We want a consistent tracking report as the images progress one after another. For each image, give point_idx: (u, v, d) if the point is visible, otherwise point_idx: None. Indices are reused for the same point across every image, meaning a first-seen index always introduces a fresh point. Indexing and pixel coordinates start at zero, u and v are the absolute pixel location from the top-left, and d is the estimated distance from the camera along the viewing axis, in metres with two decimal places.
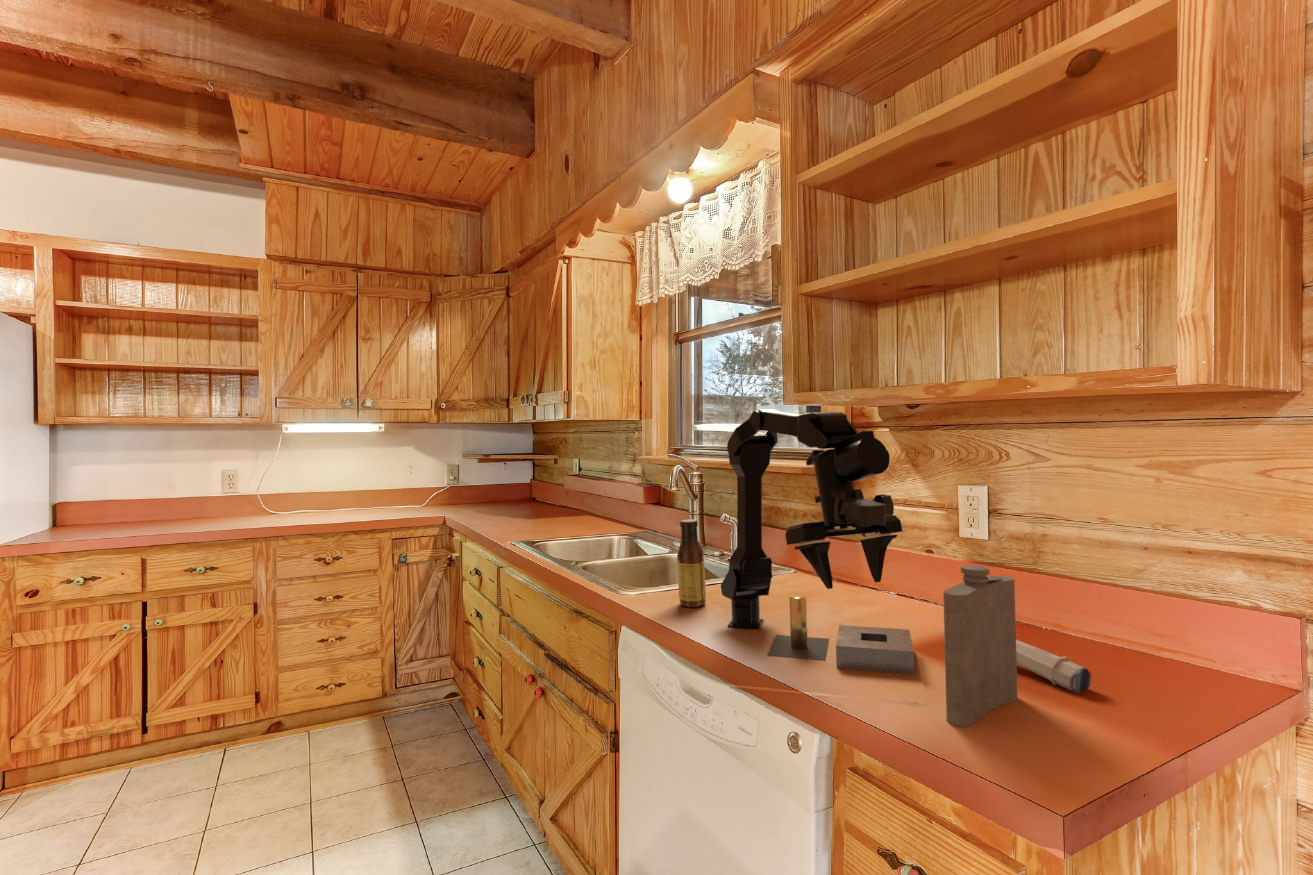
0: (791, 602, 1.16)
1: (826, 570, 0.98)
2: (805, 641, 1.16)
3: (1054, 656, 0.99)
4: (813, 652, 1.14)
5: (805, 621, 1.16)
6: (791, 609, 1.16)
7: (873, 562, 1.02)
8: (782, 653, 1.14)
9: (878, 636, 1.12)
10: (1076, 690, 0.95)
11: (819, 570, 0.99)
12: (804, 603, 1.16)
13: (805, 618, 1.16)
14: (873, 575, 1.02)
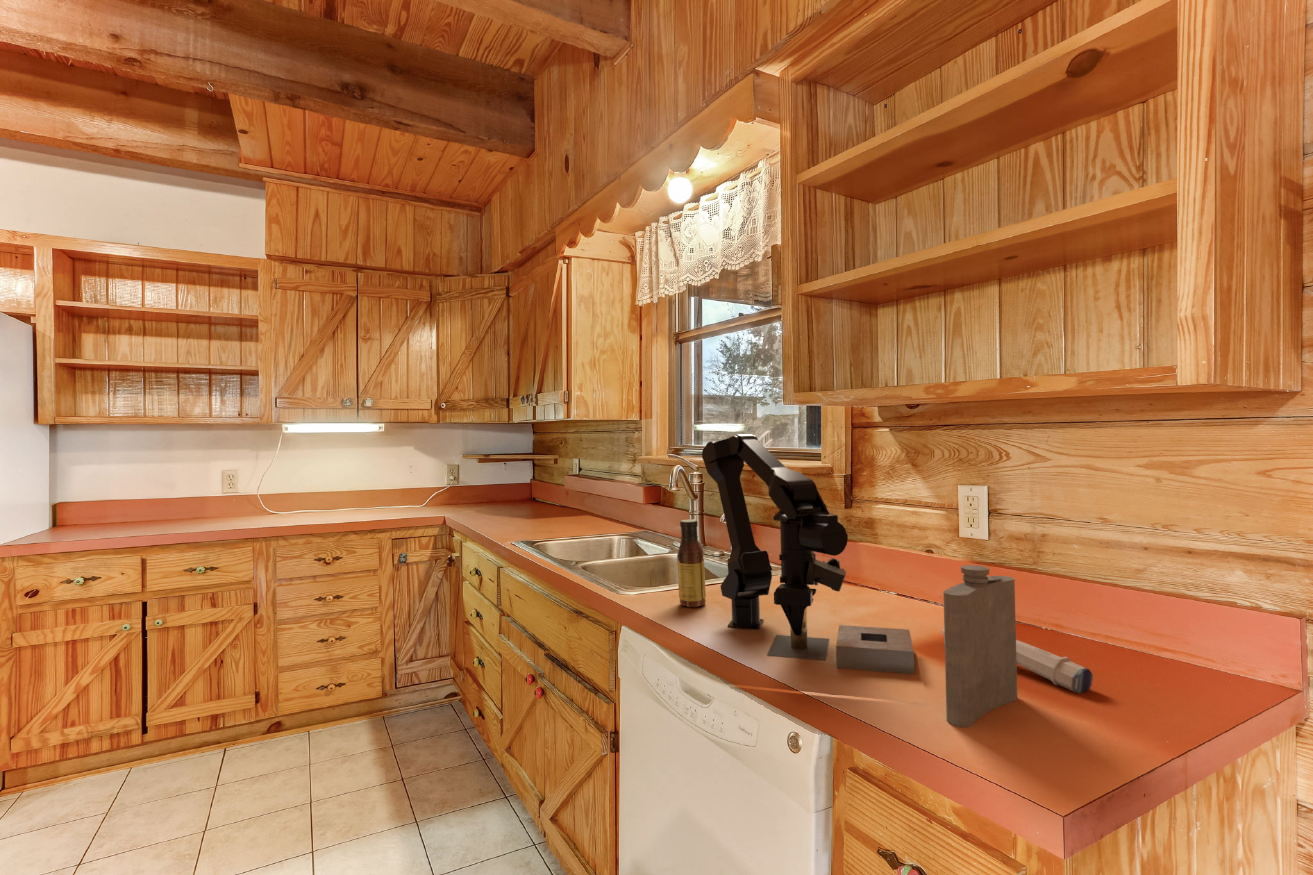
0: None
1: (802, 621, 1.14)
2: (805, 641, 1.16)
3: (1055, 656, 0.99)
4: (813, 652, 1.14)
5: (805, 621, 1.16)
6: None
7: None
8: (782, 653, 1.14)
9: (878, 636, 1.12)
10: (1078, 690, 0.94)
11: (794, 620, 1.15)
12: None
13: (805, 618, 1.16)
14: None
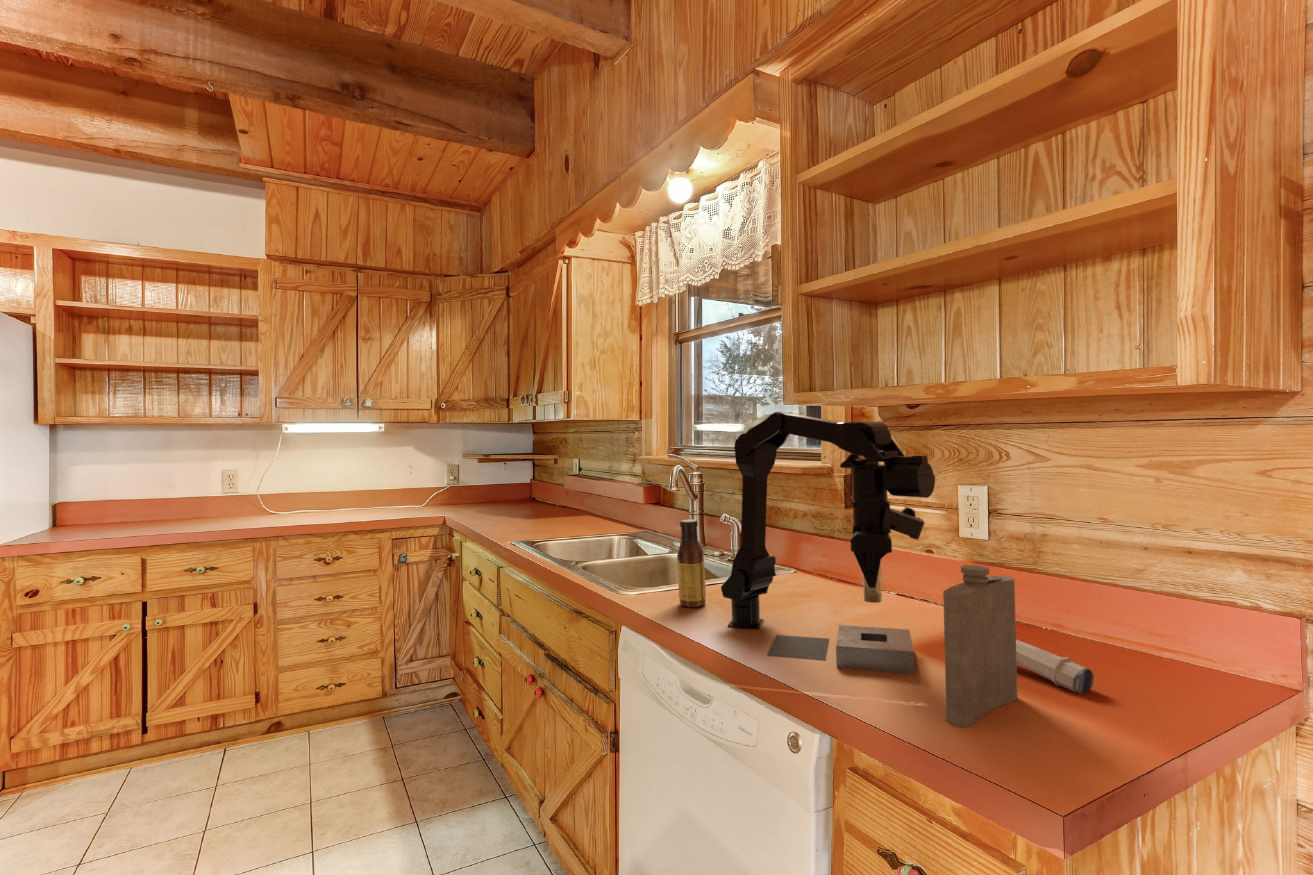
0: None
1: None
2: (880, 594, 1.09)
3: (1056, 657, 0.99)
4: (813, 652, 1.14)
5: (880, 573, 1.09)
6: None
7: None
8: (782, 653, 1.14)
9: (878, 636, 1.12)
10: (1079, 691, 0.94)
11: (869, 571, 1.08)
12: None
13: (880, 569, 1.09)
14: None
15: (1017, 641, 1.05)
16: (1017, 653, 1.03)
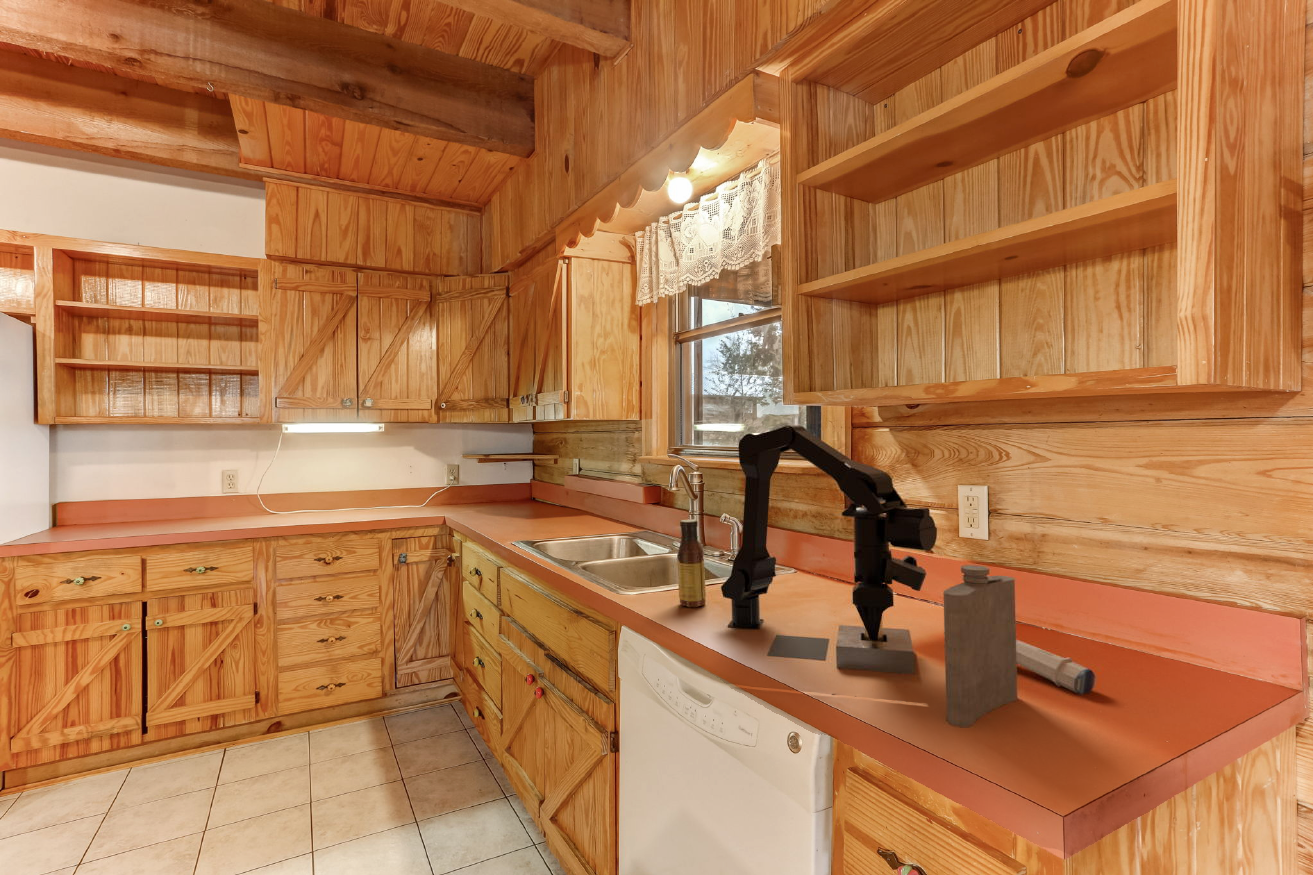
0: None
1: (879, 625, 1.06)
2: None
3: (1058, 657, 0.98)
4: (813, 652, 1.14)
5: (881, 633, 1.09)
6: None
7: None
8: (782, 653, 1.14)
9: None
10: (1080, 691, 0.94)
11: (870, 624, 1.06)
12: None
13: (881, 630, 1.09)
14: None
15: (1018, 641, 1.04)
16: (1018, 653, 1.03)
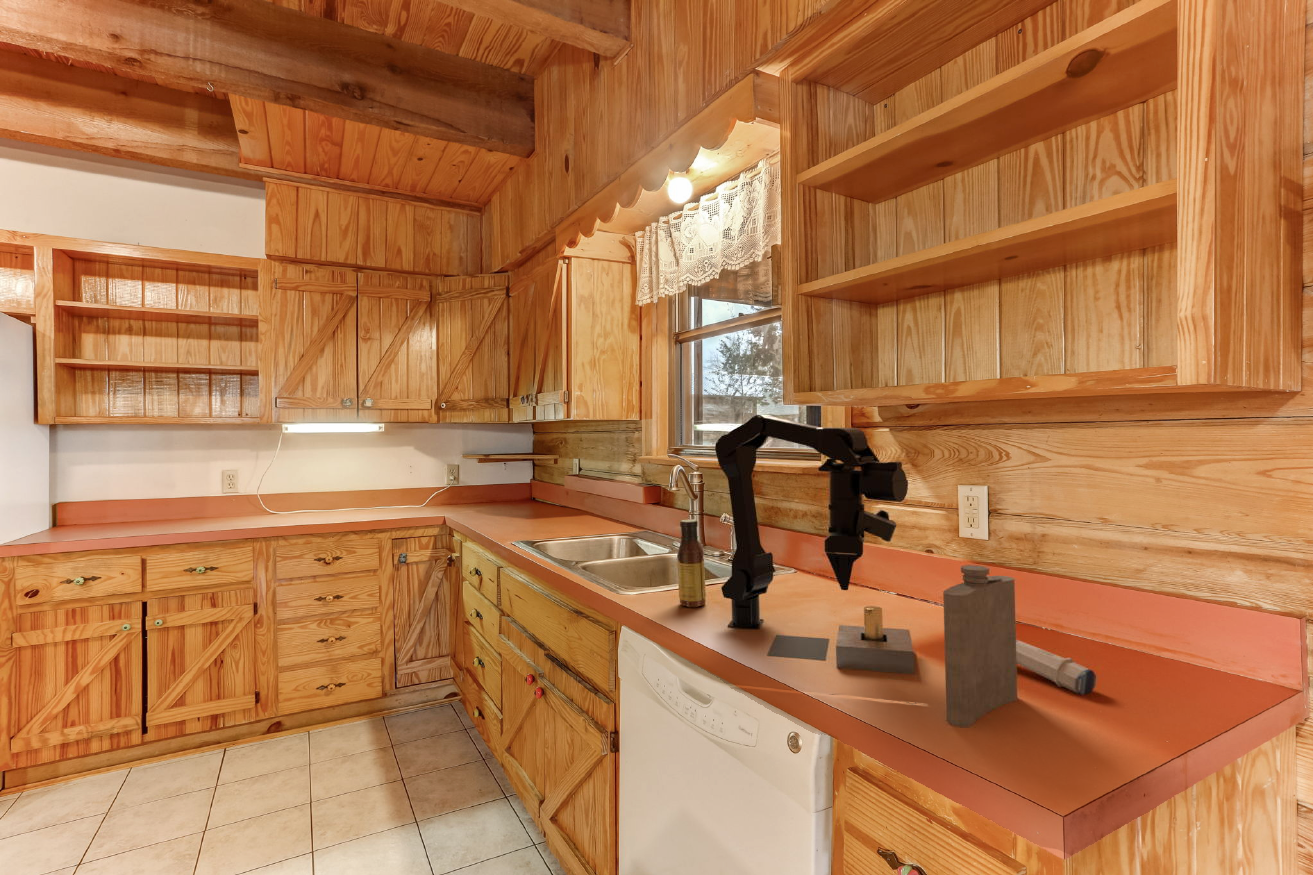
0: (866, 613, 1.09)
1: (850, 575, 1.10)
2: None
3: (1058, 657, 0.98)
4: (813, 652, 1.14)
5: (881, 633, 1.09)
6: (866, 621, 1.09)
7: None
8: (782, 653, 1.14)
9: None
10: (1081, 692, 0.94)
11: (841, 574, 1.10)
12: (880, 614, 1.09)
13: (881, 630, 1.09)
14: None
15: (1019, 642, 1.04)
16: (1019, 654, 1.02)
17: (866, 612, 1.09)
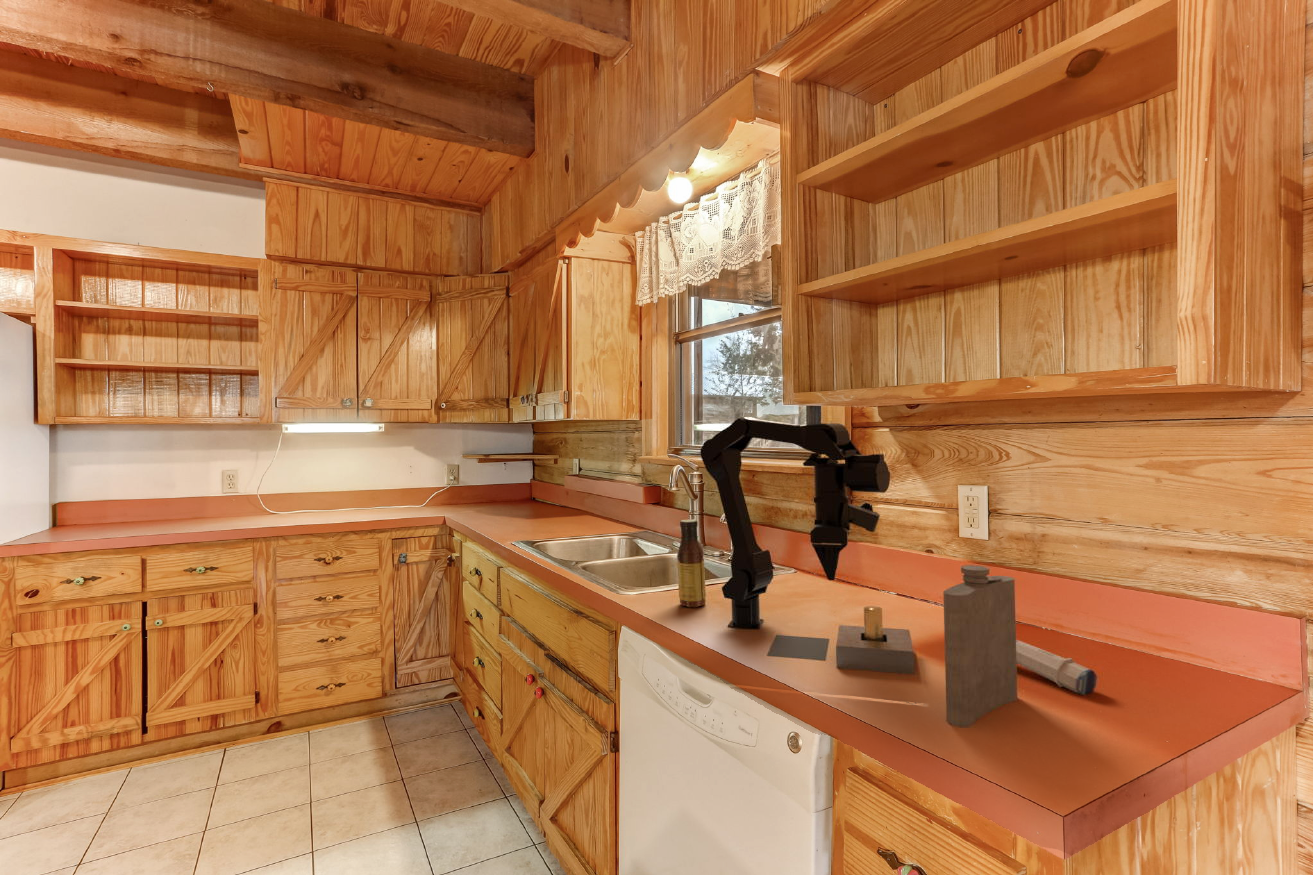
0: (866, 613, 1.09)
1: (836, 565, 1.13)
2: None
3: (1059, 658, 0.98)
4: (813, 652, 1.14)
5: (881, 633, 1.09)
6: (866, 621, 1.09)
7: None
8: (782, 653, 1.14)
9: None
10: (1082, 692, 0.94)
11: (828, 565, 1.14)
12: (880, 614, 1.09)
13: (881, 630, 1.09)
14: None
15: (1019, 642, 1.04)
16: (1019, 654, 1.02)
17: (866, 612, 1.09)
